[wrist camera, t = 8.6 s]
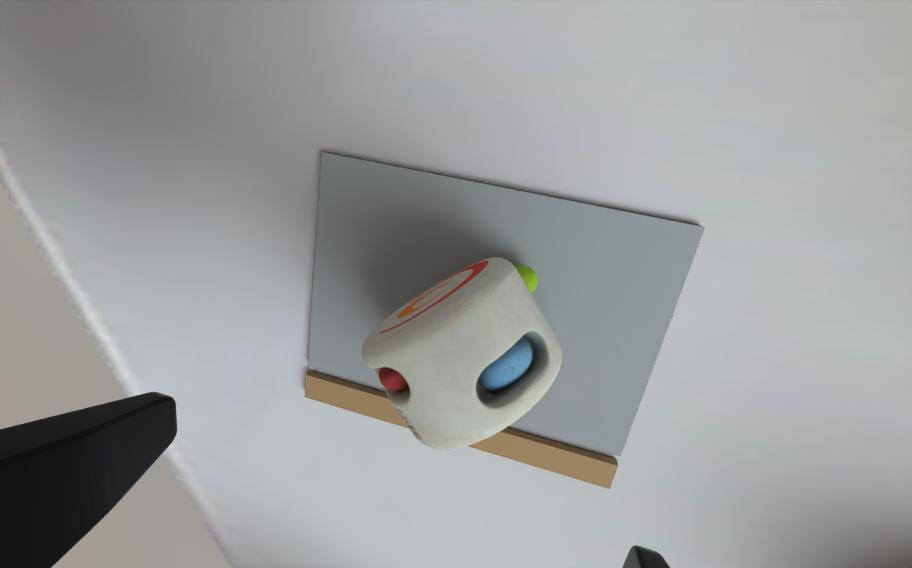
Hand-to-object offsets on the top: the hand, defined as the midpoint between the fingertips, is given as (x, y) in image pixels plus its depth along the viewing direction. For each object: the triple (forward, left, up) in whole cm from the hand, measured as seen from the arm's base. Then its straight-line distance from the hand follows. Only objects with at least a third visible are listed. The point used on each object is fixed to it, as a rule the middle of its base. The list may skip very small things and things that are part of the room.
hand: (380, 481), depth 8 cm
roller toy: (0, 0, -10) cm, 10 cm away
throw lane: (0, 0, -10) cm, 10 cm away
